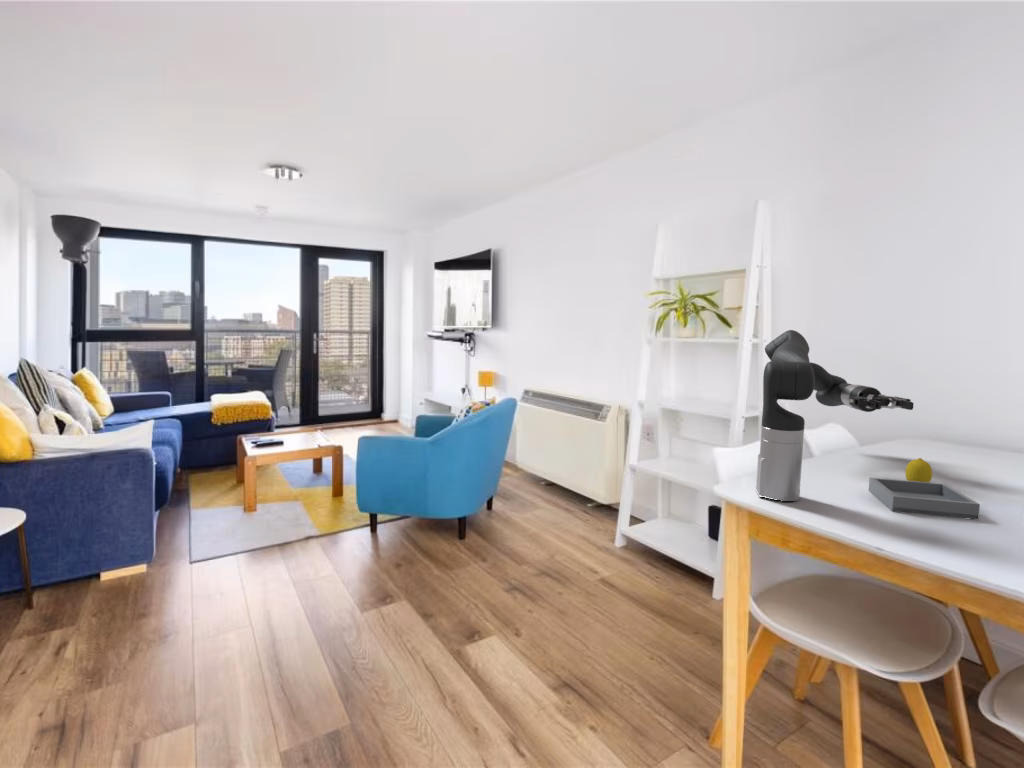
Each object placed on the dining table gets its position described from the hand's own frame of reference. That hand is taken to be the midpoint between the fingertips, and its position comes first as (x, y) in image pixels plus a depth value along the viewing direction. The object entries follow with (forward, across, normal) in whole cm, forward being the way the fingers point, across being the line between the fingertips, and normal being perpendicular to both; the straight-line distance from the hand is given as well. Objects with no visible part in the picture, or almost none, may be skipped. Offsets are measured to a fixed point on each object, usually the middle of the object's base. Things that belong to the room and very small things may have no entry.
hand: (895, 405), depth 146 cm
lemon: (+11, 0, +20) cm, 23 cm away
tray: (+24, -9, +20) cm, 33 cm away
